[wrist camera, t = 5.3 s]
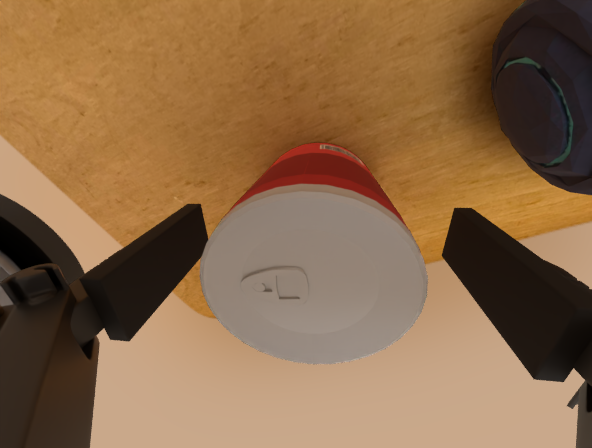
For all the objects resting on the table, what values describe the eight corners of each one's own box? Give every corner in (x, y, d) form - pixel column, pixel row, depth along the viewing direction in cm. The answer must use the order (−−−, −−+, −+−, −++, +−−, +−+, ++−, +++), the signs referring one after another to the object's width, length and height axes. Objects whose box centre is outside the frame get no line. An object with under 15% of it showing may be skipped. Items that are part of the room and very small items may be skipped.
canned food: (249, 162, 18) (155, 231, 8) (357, 122, 16) (409, 148, 6) (286, 248, 21) (250, 377, 11) (382, 223, 19) (444, 353, 9)
